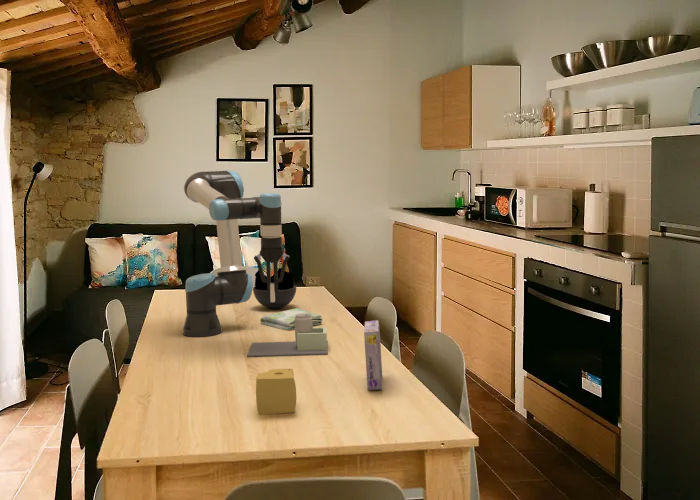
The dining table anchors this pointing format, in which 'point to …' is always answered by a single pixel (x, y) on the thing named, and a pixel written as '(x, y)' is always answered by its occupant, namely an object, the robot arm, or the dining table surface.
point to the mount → (294, 345)
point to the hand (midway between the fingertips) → (272, 301)
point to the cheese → (276, 392)
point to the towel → (287, 319)
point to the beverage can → (303, 324)
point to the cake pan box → (373, 355)
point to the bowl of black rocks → (281, 297)
